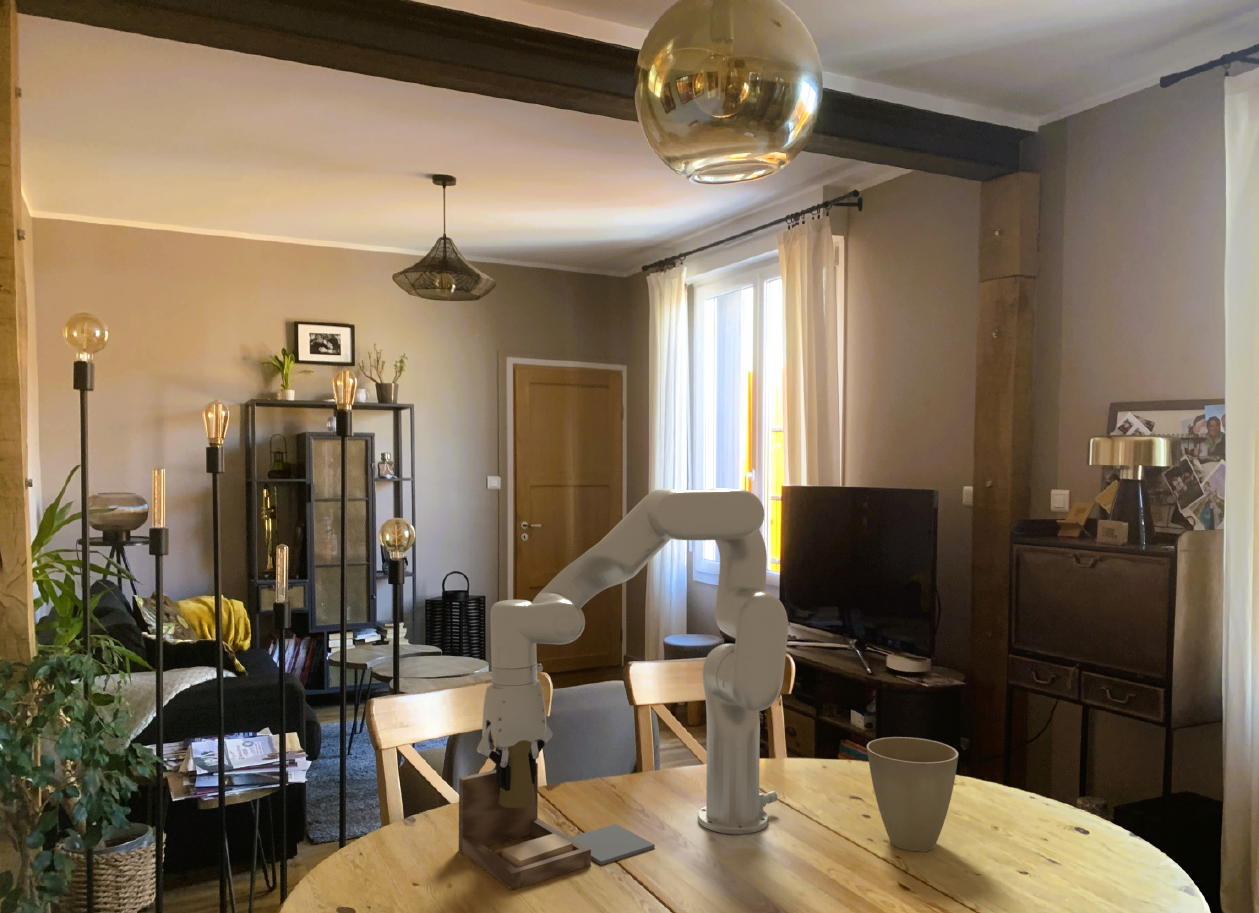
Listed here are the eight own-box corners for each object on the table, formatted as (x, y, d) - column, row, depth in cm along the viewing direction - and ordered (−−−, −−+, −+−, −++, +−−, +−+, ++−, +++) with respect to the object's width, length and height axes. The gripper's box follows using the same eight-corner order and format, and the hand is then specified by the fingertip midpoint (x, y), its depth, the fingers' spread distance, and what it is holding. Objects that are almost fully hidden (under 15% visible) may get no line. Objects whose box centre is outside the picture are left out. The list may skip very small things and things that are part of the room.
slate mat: (615, 827, 161) (615, 823, 161) (654, 848, 152) (654, 844, 152) (563, 842, 154) (563, 839, 154) (601, 865, 146) (601, 861, 146)
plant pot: (972, 842, 155) (972, 748, 155) (934, 870, 144) (934, 769, 144) (891, 819, 165) (891, 731, 166) (850, 843, 154) (850, 749, 155)
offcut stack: (553, 855, 150) (553, 833, 150) (572, 866, 146) (572, 843, 146) (501, 872, 143) (502, 849, 144) (520, 884, 140) (520, 860, 140)
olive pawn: (538, 794, 154) (537, 729, 154) (531, 808, 148) (529, 740, 148) (503, 794, 155) (502, 729, 155) (494, 807, 149) (493, 740, 149)
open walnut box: (533, 829, 160) (533, 761, 160) (590, 865, 146) (591, 790, 146) (458, 850, 151) (459, 777, 151) (512, 890, 137) (512, 810, 137)
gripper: (545, 663, 160) (547, 768, 160) (458, 679, 149) (460, 791, 149) (568, 671, 154) (571, 779, 154) (480, 687, 143) (482, 804, 143)
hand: (516, 784), depth 151 cm, fingers closed on olive pawn, 4 cm apart
